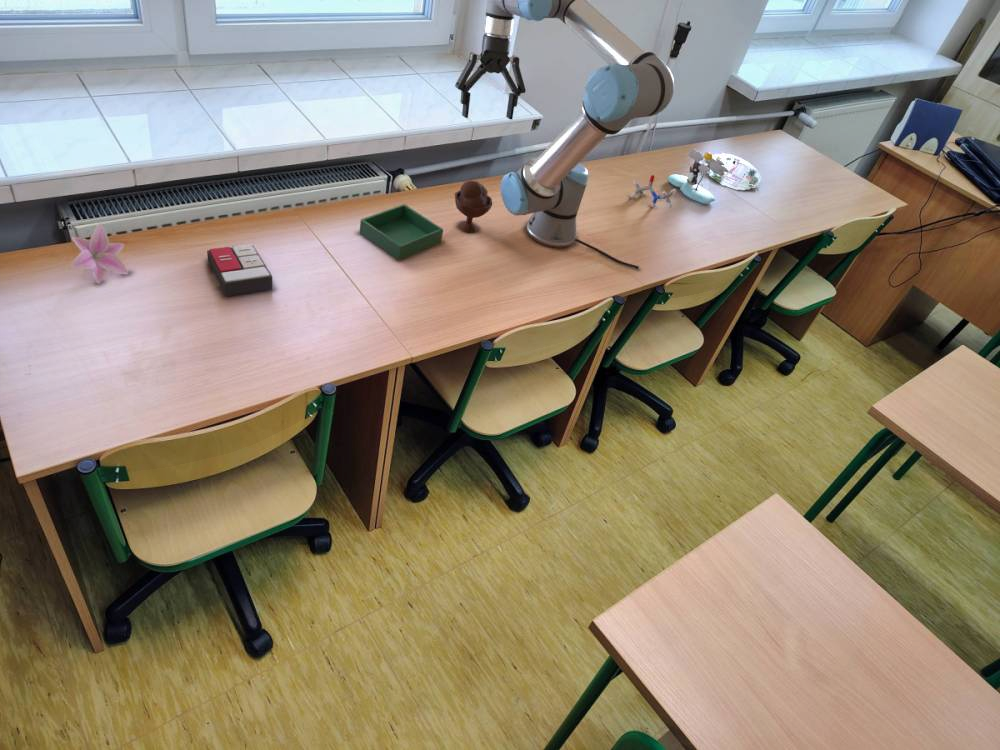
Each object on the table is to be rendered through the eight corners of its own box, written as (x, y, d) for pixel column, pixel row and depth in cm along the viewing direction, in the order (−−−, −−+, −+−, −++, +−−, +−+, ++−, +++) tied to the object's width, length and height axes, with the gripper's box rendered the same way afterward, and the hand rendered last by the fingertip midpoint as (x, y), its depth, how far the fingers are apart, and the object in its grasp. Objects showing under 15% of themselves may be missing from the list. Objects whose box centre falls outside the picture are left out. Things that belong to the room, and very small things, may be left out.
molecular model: (674, 215, 241) (686, 187, 236) (661, 216, 235) (673, 187, 230) (634, 195, 250) (644, 167, 245) (620, 194, 244) (631, 166, 239)
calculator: (253, 241, 174) (272, 274, 165) (253, 256, 177) (273, 289, 168) (206, 247, 168) (223, 281, 159) (207, 262, 171) (225, 296, 162)
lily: (64, 289, 155) (75, 265, 149) (58, 243, 158) (68, 219, 152) (124, 293, 163) (136, 271, 157) (116, 249, 167) (128, 226, 161)
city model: (697, 184, 269) (704, 170, 264) (697, 152, 284) (703, 139, 280) (760, 202, 269) (768, 189, 265) (756, 170, 285) (764, 156, 280)
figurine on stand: (661, 179, 260) (677, 140, 250) (682, 177, 265) (698, 139, 256) (697, 207, 249) (714, 168, 239) (718, 205, 254) (736, 166, 244)
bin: (441, 242, 198) (443, 229, 195) (398, 260, 187) (400, 246, 185) (402, 216, 204) (404, 203, 201) (359, 233, 193) (360, 219, 190)
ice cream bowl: (482, 241, 203) (492, 194, 193) (444, 230, 203) (453, 183, 193) (489, 224, 211) (500, 178, 201) (453, 213, 211) (462, 167, 201)
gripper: (533, 36, 196) (521, 115, 207) (448, 28, 186) (441, 112, 197) (545, 41, 190) (532, 122, 202) (458, 34, 180) (450, 119, 192)
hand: (487, 117), depth 199 cm, fingers open, 13 cm apart
